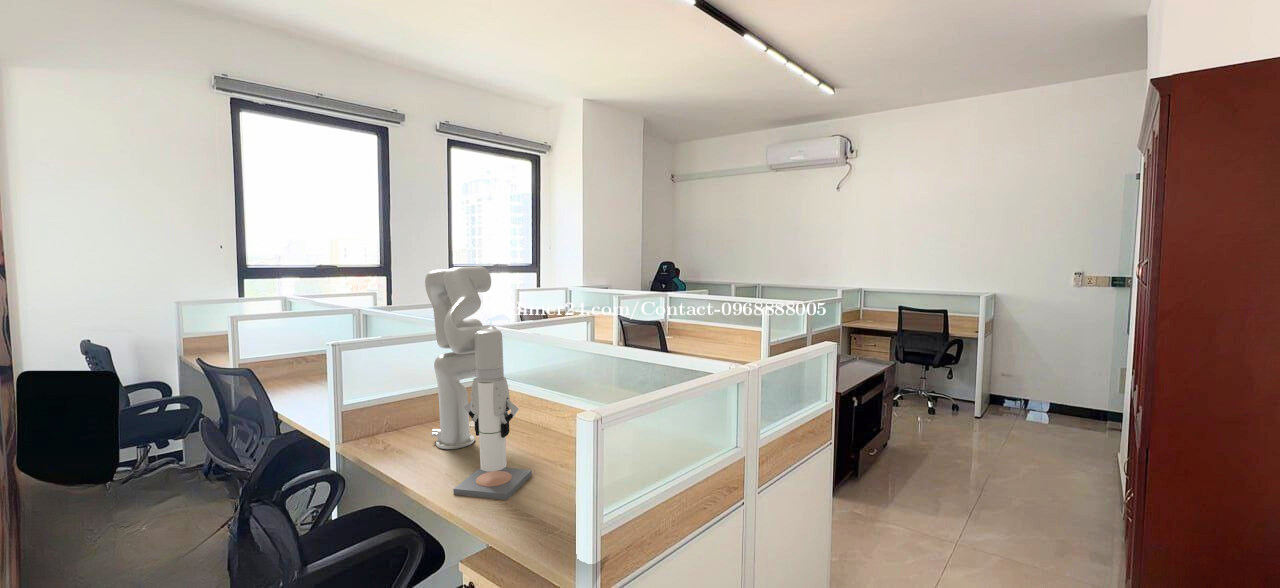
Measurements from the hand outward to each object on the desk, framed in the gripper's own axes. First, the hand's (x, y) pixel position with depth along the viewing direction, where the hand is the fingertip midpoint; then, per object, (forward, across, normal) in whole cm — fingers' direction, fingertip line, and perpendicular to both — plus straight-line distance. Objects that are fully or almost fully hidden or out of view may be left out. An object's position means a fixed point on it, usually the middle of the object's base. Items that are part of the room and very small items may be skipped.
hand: (492, 434), depth 156 cm
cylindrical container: (+9, 0, 0) cm, 9 cm away
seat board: (+15, 0, 0) cm, 15 cm away
